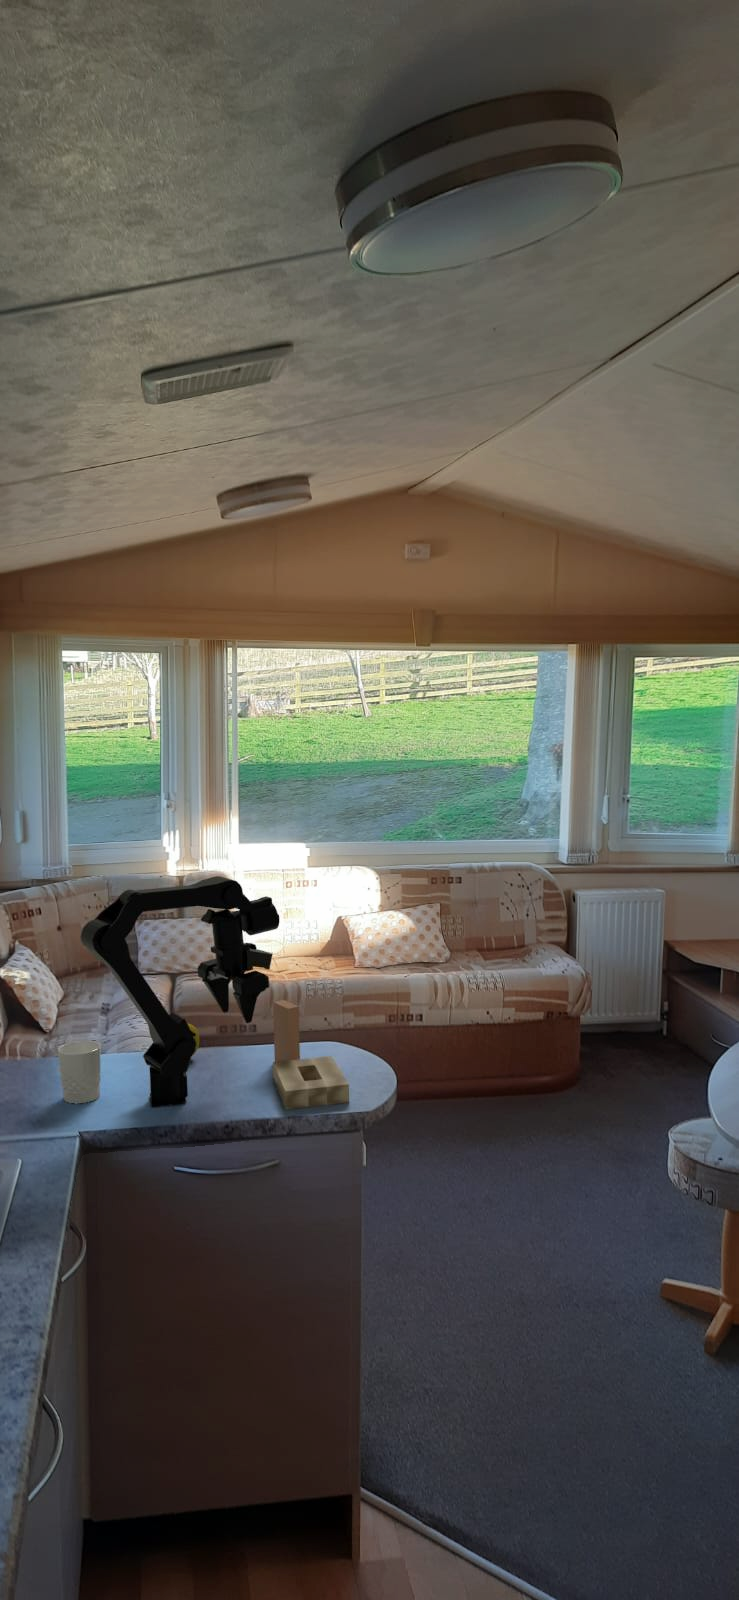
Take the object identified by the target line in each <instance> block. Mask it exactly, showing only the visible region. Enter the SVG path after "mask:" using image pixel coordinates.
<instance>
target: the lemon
mask: <svg viewBox="0 0 739 1600" xmlns="http://www.w3.org/2000/svg"><path fill="white" fill-rule="evenodd" d="M187 1024H188V1026H189V1028H190V1030H191V1031H192V1032H193V1033H195V1034H196V1036H193V1037H194V1039H195V1041H196V1048H195V1052H194V1054H196V1052H197V1051H198V1049H199V1046H200V1035H199V1032H198V1029H197V1028H196V1027H195V1026H194V1025H193V1024H191V1023H188V1022H187Z"/></svg>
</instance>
